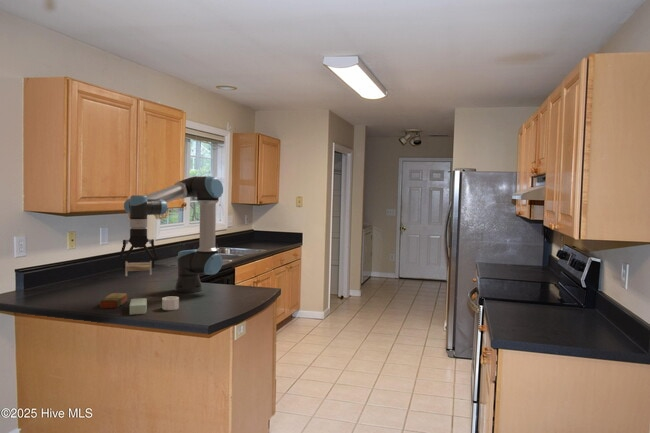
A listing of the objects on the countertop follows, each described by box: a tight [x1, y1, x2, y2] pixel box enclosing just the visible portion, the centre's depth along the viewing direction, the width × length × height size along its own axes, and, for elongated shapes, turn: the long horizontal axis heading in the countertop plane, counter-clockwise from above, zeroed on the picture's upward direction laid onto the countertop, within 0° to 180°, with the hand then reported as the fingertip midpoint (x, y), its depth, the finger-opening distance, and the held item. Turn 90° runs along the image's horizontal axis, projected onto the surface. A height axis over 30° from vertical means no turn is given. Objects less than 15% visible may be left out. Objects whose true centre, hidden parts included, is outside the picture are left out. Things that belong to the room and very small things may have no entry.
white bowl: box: [161, 295, 180, 311], centre depth 238 cm, size 8×8×5 cm
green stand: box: [129, 297, 148, 315], centre depth 234 cm, size 15×7×4 cm, turn 18°
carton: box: [99, 292, 128, 309], centre depth 246 cm, size 8×16×4 cm, turn 6°
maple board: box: [126, 261, 150, 272], centre depth 233 cm, size 15×10×2 cm, turn 19°
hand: (138, 275), depth 233 cm, fingers closed on maple board, 10 cm apart
